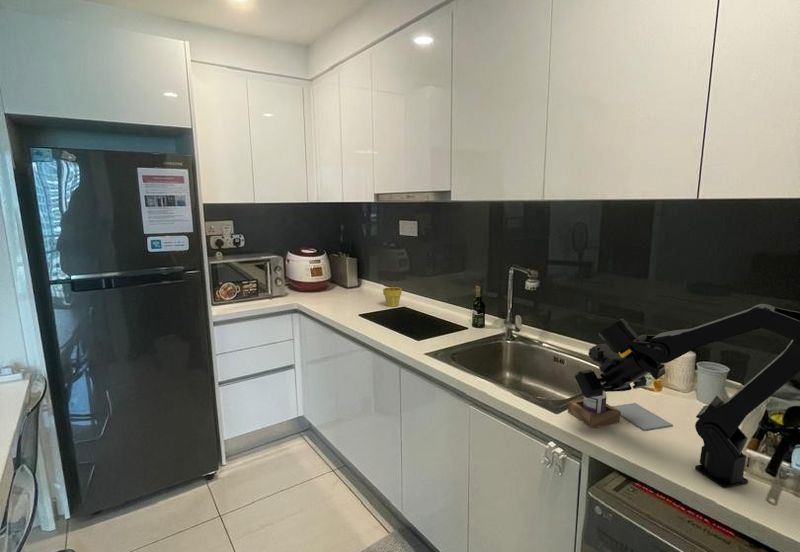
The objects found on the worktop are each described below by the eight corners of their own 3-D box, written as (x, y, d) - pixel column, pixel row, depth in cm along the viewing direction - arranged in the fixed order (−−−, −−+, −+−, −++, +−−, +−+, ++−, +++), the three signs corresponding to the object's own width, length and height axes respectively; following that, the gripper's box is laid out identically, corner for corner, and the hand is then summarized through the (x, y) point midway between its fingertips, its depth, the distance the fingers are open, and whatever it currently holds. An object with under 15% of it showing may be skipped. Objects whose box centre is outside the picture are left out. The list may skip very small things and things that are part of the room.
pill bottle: (597, 411, 111) (601, 378, 109) (608, 422, 105) (612, 387, 104) (578, 412, 111) (581, 378, 109) (588, 422, 105) (591, 387, 104)
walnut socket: (619, 422, 105) (620, 411, 105) (592, 428, 102) (593, 417, 102) (593, 406, 114) (594, 396, 113) (567, 411, 111) (568, 401, 110)
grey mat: (672, 426, 103) (672, 424, 103) (643, 431, 101) (644, 429, 101) (635, 404, 115) (635, 402, 115) (608, 408, 113) (608, 406, 113)
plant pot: (385, 308, 223) (385, 291, 221) (381, 304, 233) (381, 287, 231) (403, 307, 225) (403, 290, 224) (399, 303, 235) (399, 286, 234)
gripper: (641, 333, 103) (603, 359, 116) (583, 341, 97) (549, 367, 109) (666, 374, 97) (623, 397, 110) (606, 385, 91) (568, 408, 103)
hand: (591, 391), depth 108 cm, fingers closed on pill bottle, 5 cm apart
